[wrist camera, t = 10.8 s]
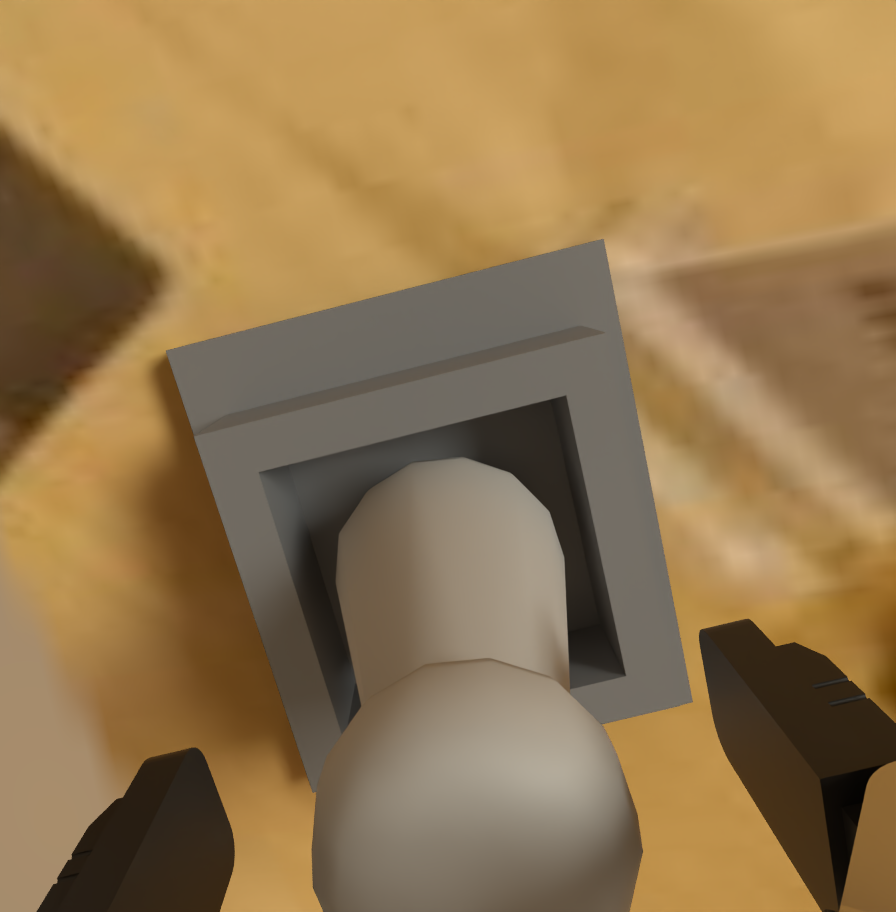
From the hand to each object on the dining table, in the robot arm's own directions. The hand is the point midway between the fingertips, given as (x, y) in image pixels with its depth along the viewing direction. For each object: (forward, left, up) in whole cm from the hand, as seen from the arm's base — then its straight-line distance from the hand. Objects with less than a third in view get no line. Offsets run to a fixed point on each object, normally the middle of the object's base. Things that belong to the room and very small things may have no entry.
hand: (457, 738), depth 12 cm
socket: (0, 0, -11) cm, 11 cm away
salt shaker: (0, 0, -10) cm, 10 cm away
